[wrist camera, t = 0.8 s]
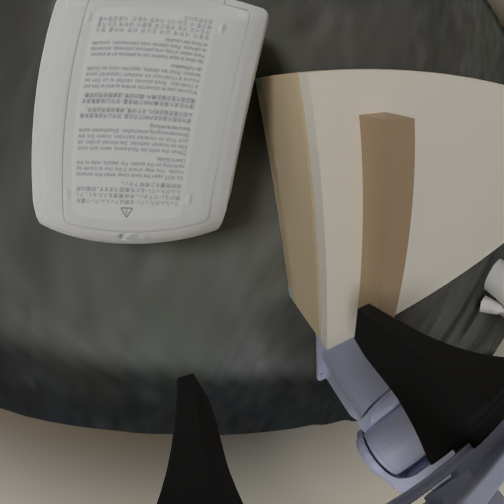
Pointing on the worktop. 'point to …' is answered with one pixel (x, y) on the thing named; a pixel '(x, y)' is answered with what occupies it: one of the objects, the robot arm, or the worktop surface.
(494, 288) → the fire extinguisher
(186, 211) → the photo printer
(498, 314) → the white wood-trimmed shelf
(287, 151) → the box
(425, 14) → the worktop surface
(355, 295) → the sliding box lid
